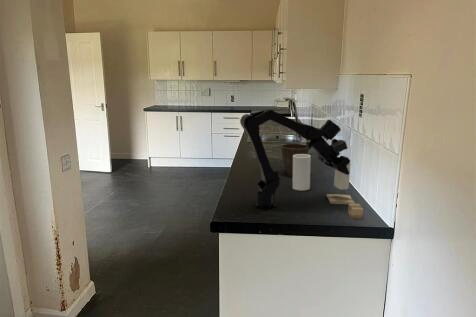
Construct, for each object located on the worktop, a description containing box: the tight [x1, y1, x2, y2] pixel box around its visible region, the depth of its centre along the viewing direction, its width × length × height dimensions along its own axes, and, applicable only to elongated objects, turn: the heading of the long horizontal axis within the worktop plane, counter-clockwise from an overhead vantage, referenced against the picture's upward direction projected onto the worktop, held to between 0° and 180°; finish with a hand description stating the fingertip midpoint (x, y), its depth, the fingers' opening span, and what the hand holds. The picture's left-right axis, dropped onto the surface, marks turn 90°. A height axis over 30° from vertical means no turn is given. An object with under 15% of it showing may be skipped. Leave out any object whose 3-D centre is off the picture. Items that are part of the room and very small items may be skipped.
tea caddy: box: [333, 162, 352, 190], centre depth 152 cm, size 4×6×11 cm
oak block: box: [347, 203, 364, 220], centre depth 137 cm, size 6×4×4 cm, turn 176°
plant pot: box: [280, 143, 310, 177], centre depth 192 cm, size 15×15×16 cm
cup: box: [292, 153, 311, 192], centre depth 169 cm, size 8×8×16 cm
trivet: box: [326, 193, 356, 205], centre depth 154 cm, size 10×10×1 cm
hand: (345, 172), depth 152 cm, fingers closed on tea caddy, 5 cm apart
